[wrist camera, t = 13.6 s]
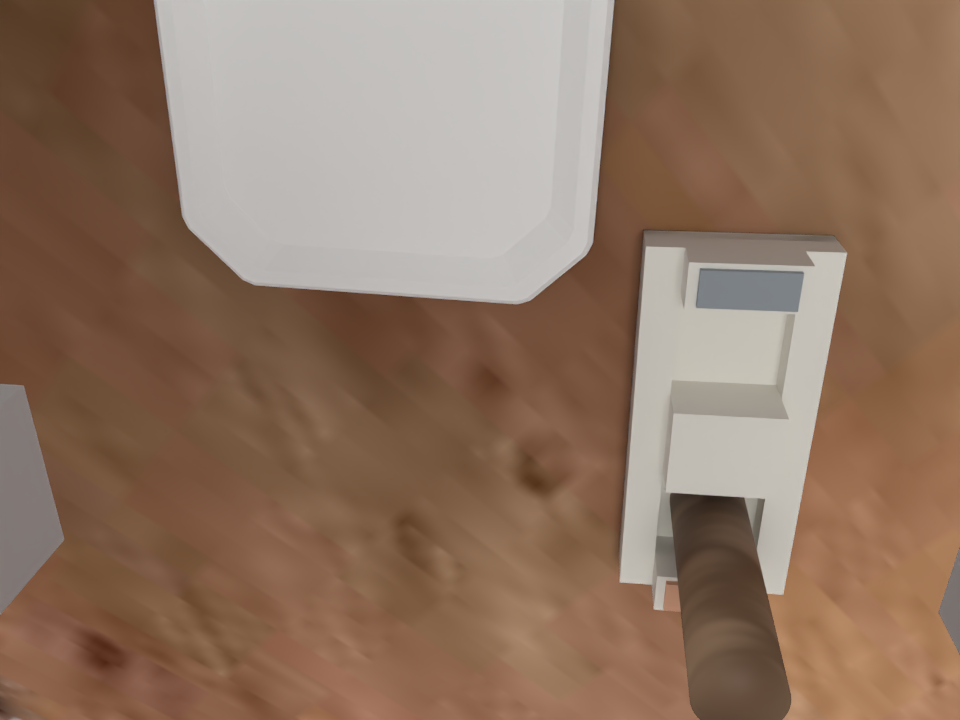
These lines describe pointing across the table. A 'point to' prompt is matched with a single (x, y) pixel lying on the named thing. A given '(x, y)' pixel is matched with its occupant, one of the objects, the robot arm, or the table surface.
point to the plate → (389, 140)
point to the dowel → (725, 612)
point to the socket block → (725, 388)
